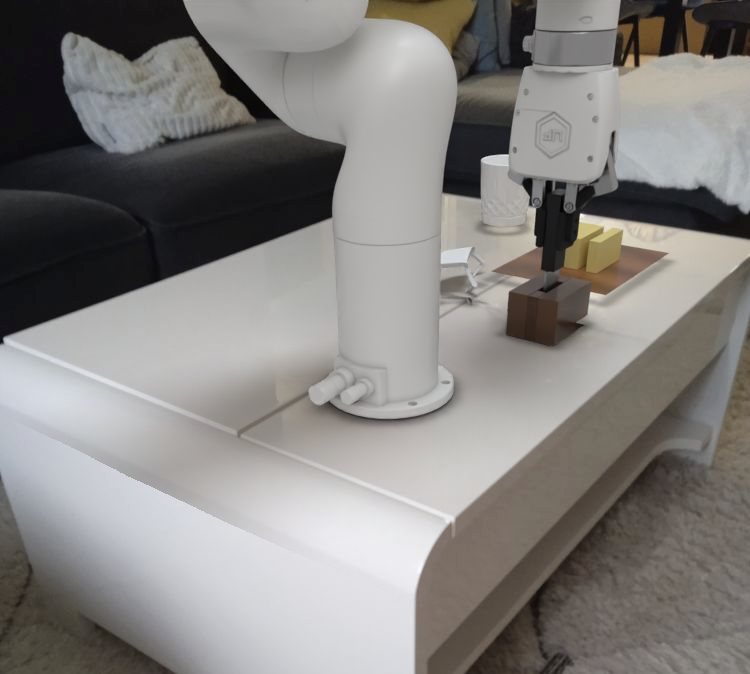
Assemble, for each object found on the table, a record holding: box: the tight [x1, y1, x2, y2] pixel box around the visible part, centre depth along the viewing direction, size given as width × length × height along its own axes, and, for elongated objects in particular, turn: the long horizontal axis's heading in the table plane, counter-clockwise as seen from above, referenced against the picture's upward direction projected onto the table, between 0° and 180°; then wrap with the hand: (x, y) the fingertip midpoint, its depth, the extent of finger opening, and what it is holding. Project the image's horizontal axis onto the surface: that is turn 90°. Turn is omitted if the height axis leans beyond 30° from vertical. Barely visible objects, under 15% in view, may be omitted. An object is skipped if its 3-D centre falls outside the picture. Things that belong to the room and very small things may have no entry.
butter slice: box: [586, 227, 624, 273], centre depth 107 cm, size 7×2×4 cm, turn 142°
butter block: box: [564, 221, 605, 270], centre depth 109 cm, size 7×5×4 cm
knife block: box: [505, 272, 592, 347], centre depth 92 cm, size 8×6×5 cm
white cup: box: [480, 154, 531, 228], centre depth 125 cm, size 8×8×10 cm
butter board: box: [491, 244, 670, 296], centre depth 110 cm, size 20×16×1 cm
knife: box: [541, 188, 566, 293], centre depth 89 cm, size 3×2×15 cm, turn 142°
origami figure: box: [440, 246, 486, 305], centre depth 103 cm, size 12×8×5 cm
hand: (554, 244), depth 88 cm, fingers closed on knife, 1 cm apart
